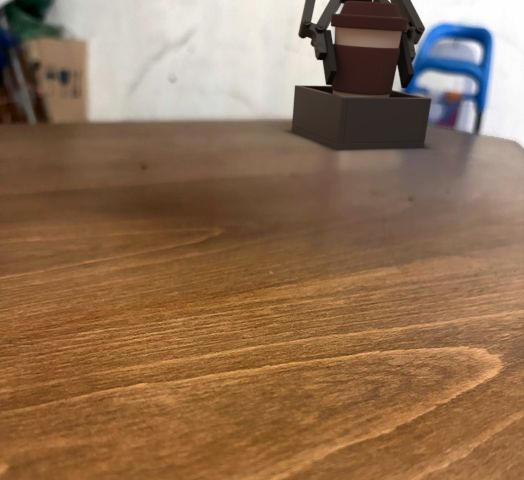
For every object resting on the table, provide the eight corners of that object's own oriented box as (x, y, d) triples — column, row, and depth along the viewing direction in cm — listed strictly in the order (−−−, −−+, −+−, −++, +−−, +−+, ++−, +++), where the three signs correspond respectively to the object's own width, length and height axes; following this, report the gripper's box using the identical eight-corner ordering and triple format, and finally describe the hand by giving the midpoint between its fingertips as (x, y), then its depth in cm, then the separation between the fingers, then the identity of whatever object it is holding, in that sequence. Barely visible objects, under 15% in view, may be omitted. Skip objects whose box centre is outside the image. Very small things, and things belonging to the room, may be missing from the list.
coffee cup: (308, 121, 92) (318, -2, 85) (343, 115, 99) (355, 2, 92) (373, 132, 87) (390, 2, 80) (404, 124, 94) (422, 5, 87)
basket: (371, 131, 102) (376, 86, 99) (423, 148, 91) (431, 98, 88) (291, 133, 97) (294, 85, 94) (336, 151, 86) (342, 98, 83)
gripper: (412, -24, 100) (437, 101, 93) (265, -35, 96) (281, 95, 89) (433, -69, 93) (461, 63, 86) (275, -83, 89) (292, 55, 82)
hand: (370, 79), depth 88 cm, fingers closed on coffee cup, 10 cm apart
